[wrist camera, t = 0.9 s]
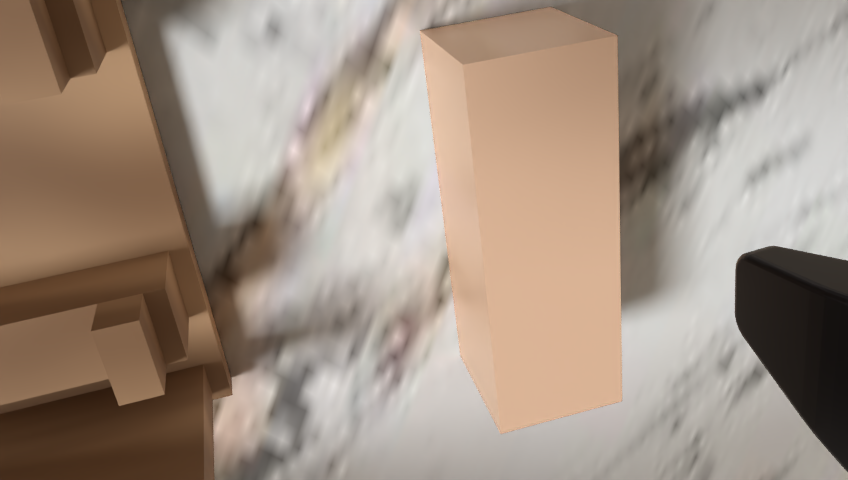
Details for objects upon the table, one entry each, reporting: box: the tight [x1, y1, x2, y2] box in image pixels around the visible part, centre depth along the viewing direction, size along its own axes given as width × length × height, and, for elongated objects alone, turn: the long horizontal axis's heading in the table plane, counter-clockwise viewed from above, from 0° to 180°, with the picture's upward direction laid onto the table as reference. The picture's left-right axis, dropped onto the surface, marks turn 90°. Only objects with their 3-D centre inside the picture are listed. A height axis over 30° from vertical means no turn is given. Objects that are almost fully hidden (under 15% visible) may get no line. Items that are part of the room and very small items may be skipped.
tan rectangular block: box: [420, 7, 622, 434], centre depth 21 cm, size 10×4×4 cm, turn 8°
